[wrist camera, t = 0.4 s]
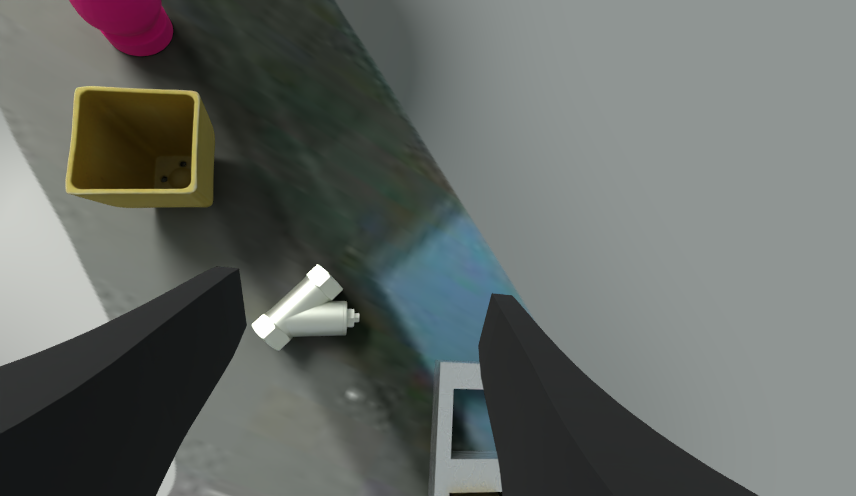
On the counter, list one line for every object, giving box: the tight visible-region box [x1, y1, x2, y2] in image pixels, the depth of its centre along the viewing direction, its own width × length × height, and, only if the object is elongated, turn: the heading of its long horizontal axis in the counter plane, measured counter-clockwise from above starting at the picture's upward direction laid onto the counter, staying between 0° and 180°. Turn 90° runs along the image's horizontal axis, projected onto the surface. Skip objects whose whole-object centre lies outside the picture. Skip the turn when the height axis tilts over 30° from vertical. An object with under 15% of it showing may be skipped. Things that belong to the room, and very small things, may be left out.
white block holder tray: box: [428, 360, 502, 496], centre depth 37 cm, size 20×9×2 cm, turn 177°
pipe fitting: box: [252, 265, 359, 351], centre depth 36 cm, size 8×4×7 cm
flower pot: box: [66, 86, 215, 208], centre depth 34 cm, size 9×9×9 cm
